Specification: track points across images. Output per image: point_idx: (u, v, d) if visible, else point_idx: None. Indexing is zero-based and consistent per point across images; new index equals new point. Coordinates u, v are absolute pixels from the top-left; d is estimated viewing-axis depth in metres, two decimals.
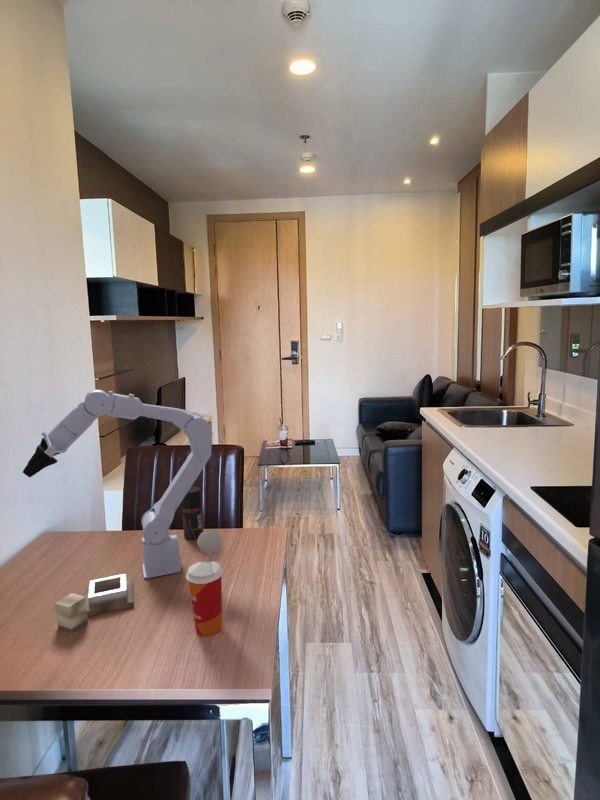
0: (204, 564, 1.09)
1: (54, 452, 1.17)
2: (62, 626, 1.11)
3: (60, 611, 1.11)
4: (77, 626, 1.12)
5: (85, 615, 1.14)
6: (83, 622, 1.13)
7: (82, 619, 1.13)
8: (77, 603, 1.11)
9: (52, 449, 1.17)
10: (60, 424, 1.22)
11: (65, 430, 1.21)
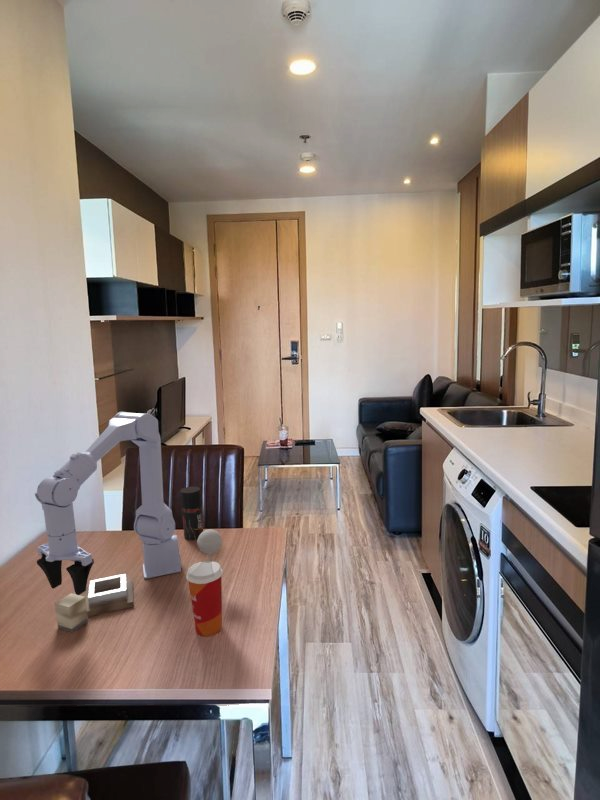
0: (204, 564, 1.09)
1: (90, 556, 1.08)
2: (62, 626, 1.11)
3: (60, 611, 1.11)
4: (77, 626, 1.12)
5: (85, 615, 1.14)
6: (83, 622, 1.13)
7: (82, 619, 1.13)
8: (77, 603, 1.11)
9: (87, 557, 1.07)
10: (56, 538, 1.07)
11: (67, 536, 1.08)
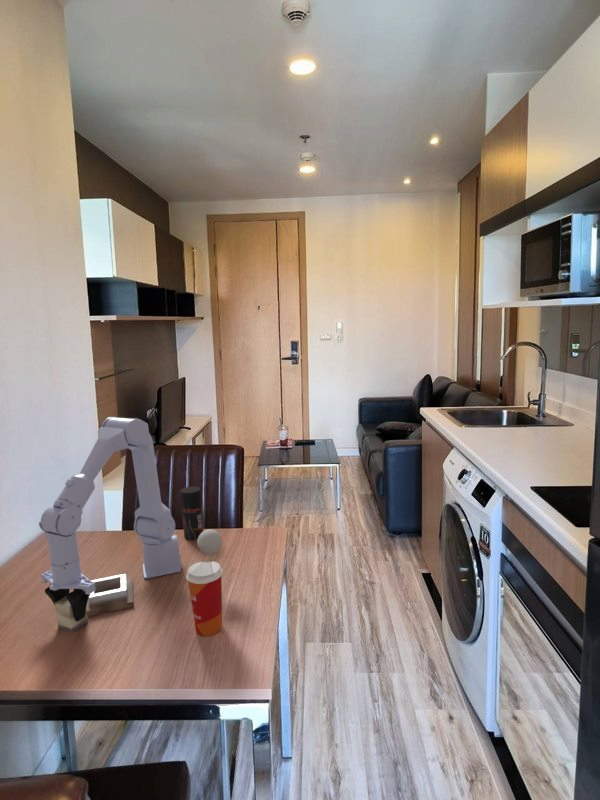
0: (204, 564, 1.09)
1: (94, 585, 1.09)
2: (62, 626, 1.11)
3: (60, 611, 1.11)
4: (77, 626, 1.12)
5: (85, 615, 1.14)
6: (83, 622, 1.13)
7: (82, 619, 1.13)
8: None
9: (90, 585, 1.08)
10: (60, 567, 1.08)
11: (71, 565, 1.09)
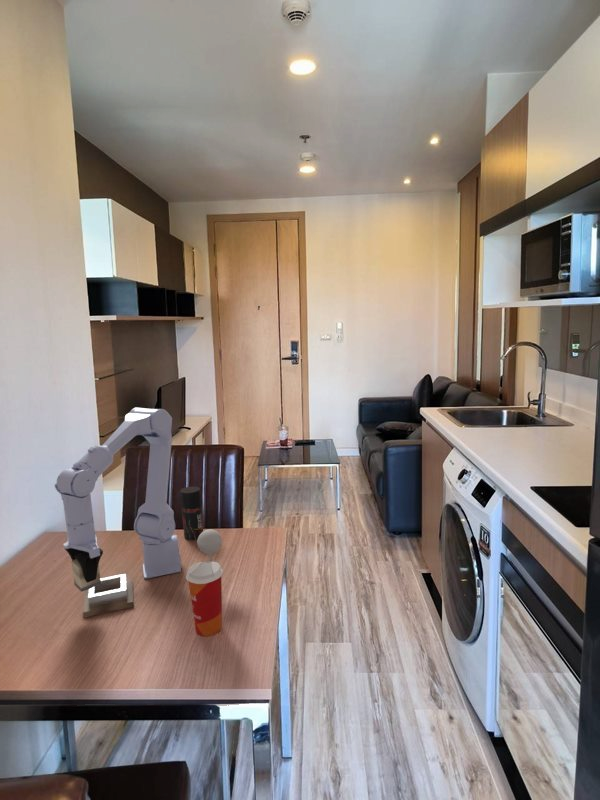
0: (204, 564, 1.09)
1: (98, 550, 1.10)
2: (76, 584, 1.16)
3: (74, 569, 1.15)
4: (88, 587, 1.15)
5: (97, 577, 1.16)
6: (95, 584, 1.16)
7: (94, 581, 1.16)
8: None
9: (94, 550, 1.10)
10: (70, 527, 1.12)
11: (81, 527, 1.12)
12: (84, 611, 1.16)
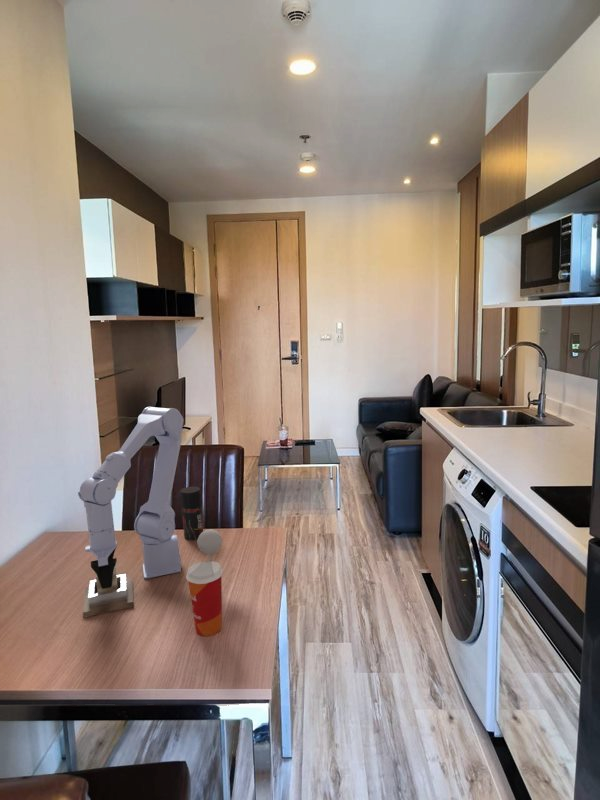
0: (204, 564, 1.09)
1: (105, 559, 1.14)
2: None
3: None
4: None
5: None
6: None
7: None
8: None
9: (101, 559, 1.14)
10: (89, 532, 1.18)
11: (97, 534, 1.17)
12: (84, 611, 1.16)
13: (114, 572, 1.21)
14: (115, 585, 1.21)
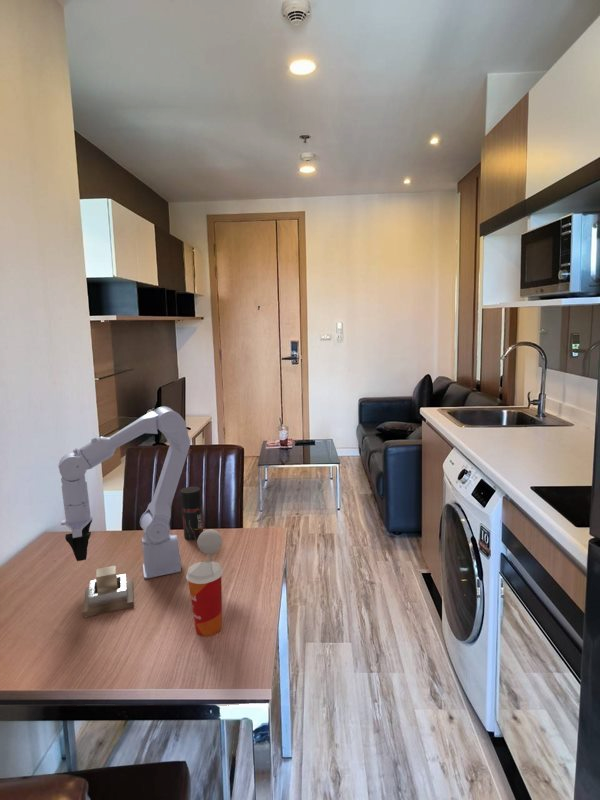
0: (204, 564, 1.09)
1: (79, 531, 1.19)
2: None
3: None
4: None
5: None
6: None
7: None
8: (105, 576, 1.20)
9: (75, 530, 1.19)
10: (65, 506, 1.23)
11: (72, 507, 1.22)
12: (84, 611, 1.16)
13: (114, 572, 1.21)
14: (115, 585, 1.21)
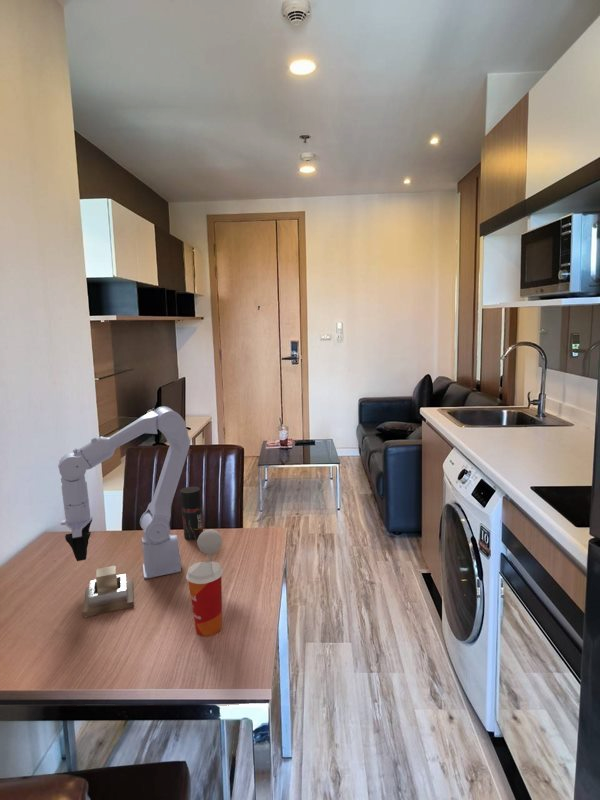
0: (204, 564, 1.09)
1: (79, 531, 1.19)
2: None
3: None
4: None
5: None
6: None
7: None
8: (105, 576, 1.20)
9: (75, 530, 1.19)
10: (64, 506, 1.23)
11: (72, 507, 1.22)
12: (84, 611, 1.16)
13: (114, 572, 1.21)
14: (115, 585, 1.21)
